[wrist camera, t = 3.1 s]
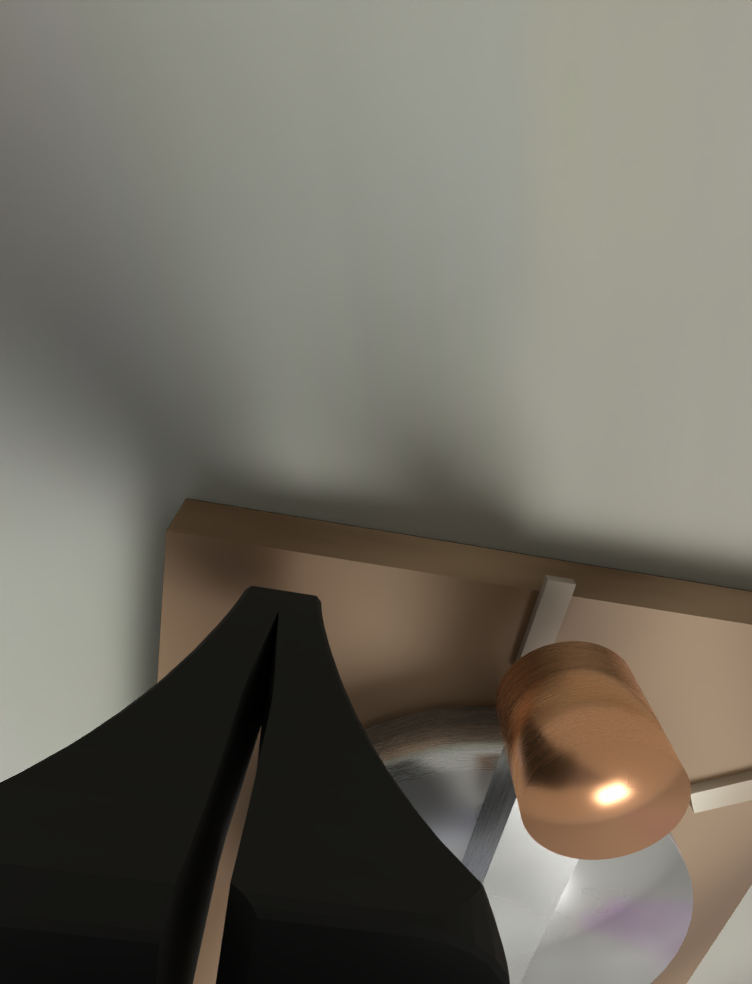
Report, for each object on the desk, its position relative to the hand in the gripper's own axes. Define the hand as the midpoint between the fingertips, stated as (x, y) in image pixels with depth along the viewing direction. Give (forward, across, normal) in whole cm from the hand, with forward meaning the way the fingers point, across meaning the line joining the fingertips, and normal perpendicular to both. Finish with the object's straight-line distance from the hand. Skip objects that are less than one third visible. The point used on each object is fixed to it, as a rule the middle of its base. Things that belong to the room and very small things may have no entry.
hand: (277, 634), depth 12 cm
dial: (+1, -6, +5) cm, 8 cm away
